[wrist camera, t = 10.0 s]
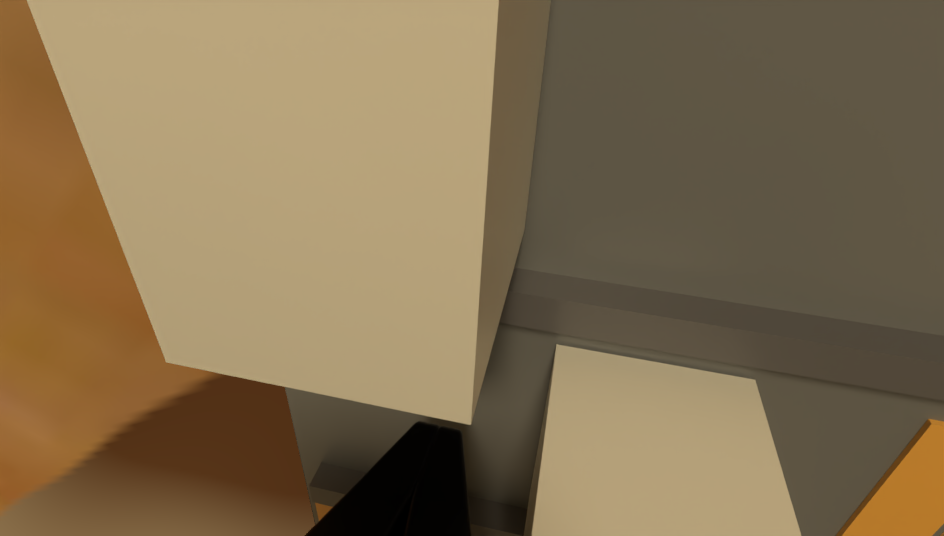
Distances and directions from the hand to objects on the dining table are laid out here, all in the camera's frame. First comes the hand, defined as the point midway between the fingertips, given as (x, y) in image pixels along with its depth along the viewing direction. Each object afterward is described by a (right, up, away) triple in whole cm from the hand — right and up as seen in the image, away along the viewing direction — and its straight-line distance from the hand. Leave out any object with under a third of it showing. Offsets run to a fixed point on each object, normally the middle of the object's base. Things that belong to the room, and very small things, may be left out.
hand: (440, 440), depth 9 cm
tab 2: (+3, 0, 0) cm, 3 cm away
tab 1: (0, +5, -3) cm, 6 cm away
